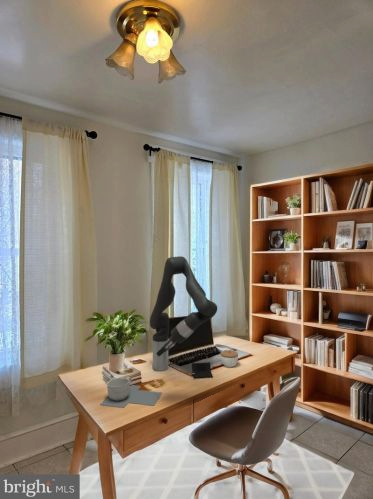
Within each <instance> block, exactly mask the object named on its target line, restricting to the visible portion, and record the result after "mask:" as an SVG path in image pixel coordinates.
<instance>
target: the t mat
mask: <svg viewBox="0 0 373 499" xmlns="http://www.w3.org/2000/svg"><path fill="white" fill-rule="evenodd" d="M130 385H131V386H130V391H129V394H128V396H127V397H126V398H125V399H123V400H119V401H115V400H113V399H111V398H110V397H109V396H108V395H107V396H106V398H104V399H103V401H102V402H101V403H100V404H99V406H106V407H107V406H108V407H114V408H120V409H121V408H122V409H123V408H125V407H126V406H127V405H128V404H132V405H133V404H134V405H143V406H152V407H155V405H156V404H157V403H158V401H159V399H160V397H161V396H162V394H163V392H162V391H161V392H160V391H151V390H145V389H144V390H141V389H140V388H141V387H142V386H141V385H134V384H130Z"/></svg>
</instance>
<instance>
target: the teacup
mask: <svg viewBox="0 0 373 499" xmlns="http://www.w3.org/2000/svg"><path fill="white" fill-rule="evenodd" d="M131 383H132V377H130V376H126V377H124V376H123V377H122V376H121V377H115V378H112V379H110V380H107V383H106V386H107V397H108V396H109V397H110V398H111V399H113V400H115V401H119V400H123V399H125V398H126V397H127V396H128V394H129V391H130V385H132V384H131Z"/></svg>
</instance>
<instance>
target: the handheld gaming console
mask: <svg viewBox="0 0 373 499" xmlns="http://www.w3.org/2000/svg"><path fill="white" fill-rule="evenodd" d="M191 372H192V373H195V374H193V375H192V377H193V380H196V379H198V380H200V379H213V378H214V375H213V374H212V369H211V362H193V363H191ZM192 373H191V374H192Z"/></svg>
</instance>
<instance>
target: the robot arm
mask: <svg viewBox="0 0 373 499" xmlns="http://www.w3.org/2000/svg"><path fill="white" fill-rule="evenodd" d="M164 263H165V264H164V269H163V275H162V279H161V284H160V287H159V290H158V294H157V297H156V301H155V304H154V307H153V310H152V312H151V315H150V318H149V326H150V328H151V329H153V330H159V331H157V332H156V333H154V334H153V335H152V370H154V371H155V372H156V371H157V372H163V371H167V370H168V369H169V350H170V349H171V348H172V347H174V346H175V345H176V344H177V343H178V344H182V343H183V342H185V341H186V340H187V339H188V338H190V336H191V335H192V334H193V333H194V331H195V330H196V329H198V328H199V327H200V326H201V325H202V324H203V323H206V322H207V321H210V319H212V318H214V316H215V315H216V313H217V312H218V305H217V304H216V303H215V302H213V301H211V300H210V299H208V298H207V296H206V295H207V294H206V292H205V290H204V288H203V287H202V285H200V283H199V282H198V280H197V278H196V277H195V275H194V274H195V273H194V272H193V270H192V268H191V265H190V264H189V262H188V260H187V259H186V257H184V256H181V255H180V256H171V257H168V258H167V259H166V260H165V262H164ZM180 274H181V275H183V276H185V290H186V292H187V294H188V295H189V296H190V298H191V299H192V301H193V303H194V307H195V308H196V311H194V312H193V311H192V312H191V313H189V314H188V315H187V316H186V317H185V318H184V319H183V320H181V321H179V323H178V324H176V325H175V327H174V328H172V329H171V331H170V316H169V314H168V313H167V312H165V311H166V310H167V309H168V307H170V306H171V305H172V304H173V302H174V299H175V296H176V288H175V286H174V284H173V282H172V279H173V276H175V275H180ZM169 331H170V332H169ZM169 333H170V335H171V336H170V337H169Z"/></svg>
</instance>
